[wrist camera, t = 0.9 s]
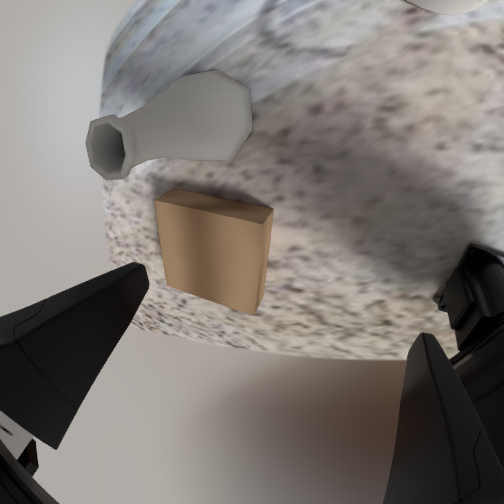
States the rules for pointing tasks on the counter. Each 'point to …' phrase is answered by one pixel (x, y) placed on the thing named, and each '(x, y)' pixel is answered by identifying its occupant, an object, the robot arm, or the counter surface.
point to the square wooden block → (215, 247)
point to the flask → (175, 126)
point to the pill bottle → (448, 5)
